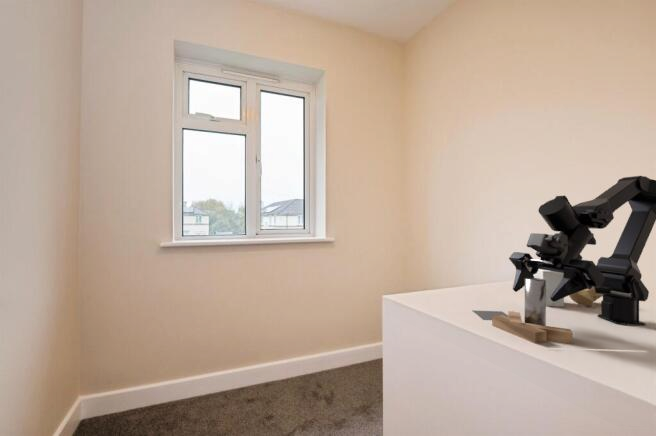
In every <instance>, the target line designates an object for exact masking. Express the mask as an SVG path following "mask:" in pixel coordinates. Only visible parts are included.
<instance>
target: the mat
mask: <svg viewBox="0 0 656 436" xmlns="http://www.w3.org/2000/svg"><path fill="white" fill-rule="evenodd" d="M471 312H473V313H475V314H476V315H477V316H478V317H479V318H481V320H484V321H492V316H499V315H503V316H506V317H508V314H507V313H505V312H503V311H501V310H500V311H499V310H498V311H496V310H493V311H492V310H473V309H472V311H471Z"/></svg>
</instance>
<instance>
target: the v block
mask: <svg viewBox="0 0 656 436" xmlns="http://www.w3.org/2000/svg"><path fill="white" fill-rule="evenodd" d="M507 312H508V314H507V315H508V317H506V316H503V315H499V316H492V320H491V322H492V323H491V326H493V327H494V328H497V329H500V331H501V330H502V331H504V332H507V333H508V334H511V335H514V336H517V337H518V338H520V339H523V340H524V341H525V340H526V341H528V342H530V343H533V344H541V343H547V341H552V342H558V343H565V344H571V345H573V341H574V339H573V337H574V336H573V335H574V334H573V331H572V330H571V329H570V328H563V327H557V326H556V327H555V326H548V325H546V326H543V325H536V324H529V323H525V322H523V320H522V316H521V313H520V312H517V311H509V310H508V311H507Z"/></svg>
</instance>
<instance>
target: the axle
mask: <svg viewBox="0 0 656 436" xmlns="http://www.w3.org/2000/svg"><path fill="white" fill-rule="evenodd" d="M524 323H529V324H536V325H543V326H547V325H546V324H547V306H546V280H544V279H539V278H525V286H524Z"/></svg>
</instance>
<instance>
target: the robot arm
mask: <svg viewBox="0 0 656 436" xmlns="http://www.w3.org/2000/svg"><path fill="white" fill-rule="evenodd" d="M627 202H628V204H629V205H630V208H631V212H630V214H629V217H628V219H627V221H626V223H625V226H624V228H623V230H622V232H621V235H620V236H619V239H618V241H617V243H616V246H615V248H614V250H613V253H612V254H611V255H610V256H609V257H605V256H600V258H598V260H597V264H596V263H595V262H594V260H587V259H583V256H582V255H581V253H582V252H583V250H584V249H585V247H586V246H587V245H591V246H595V245H597V240H596V238H595V236H594V233H593V232H592V231H591V230H592V229H597V230H599V229H600V230H602V229H605V228H607V227H608V226H609V224H611V222H612V221H613V220H614V218H615V217H614V212H615V211H617V210H618V209H620V208H621V207H622V206H623V205H625V204H626V203H627ZM537 211H538V213H539V214H540V216H541V217H542V219H543V220H544V222H546V224H547V225H548V227H549V228H550V229H551V230H552V231H554V232H557V233H554V234H547V233H535V232H531V233H530V234H529V237H528V240H527V243H526V247H527V248H530V249H532V250H534V251H536V252H535V255H536V256H537V257H538V258H540V259H535V258H533V257H532V255H531V254H530V253H527V252H519V251H515V252H512V254H511V255H510V256H509V258H508V259H509V261H510V262H511V264H513V266H514V267H515V276H514V281H513V284H512V285H513V286H512V290H513V292H515V293H517V292H519V291H520V290H521V289H523V288H525V278H534V276H533V275H534V274H536V273H537V272H538V269H542V270H548V271H551V272H556V273H562V274H563V278H562V280H561V281H560V283H559V284H558V286H557V287H556V289H555V290H554V292H553V293H552V295H551V297H550V299H551V300H552V301H553V302H555V301H557V300H560V299H562V298H564V299H565V298H567V297H570V296H569V295H571V294H574V293H576V292H579V291H582V290H585V289H591V288H592V287H594V288H595V291H596V293H598V294H604V295H603V297H602V300H601V301H600V306H601V307H600V311H601V312H600V313H599V314H597V317H599V318H602V319H604V320H606V321H610V322H612V323H614V324H617V325H633V326H634V325H636V326H640V325H641V326H646V322H644V321H641V320H640V302H646V301H647V300H648V298H649V293H650V292H649V289H648V288H647V287H646V285H645V284H644V283H643V281H642V273H641V270H640V268H639V265H638V263H639V261H640V258H641V255H642V253H643V251H644V248H645V247H646V245H647V242H648V240H649V236H650V234H651V233H652V230H653V228H654V226H655V224H656V179H653V178H652V179H651V178H649V177H647V176H643V175H636V176H625V177H622V178H619V179H618V180H617V183H615V184H614V185H612V186H611V187H609V188H608V189H606V190H605V191H603V192H602V193H601V194H599V195H598V196H597V197H595V198H593V199H592V200H586V201H583V202H579V203H577V204H575V205H572V204H571V203H570V200H569V199H568V197H567V196H566V195H556V196H555V198H553V199H550V200H548V201H546V202H545V203H543V204H541V205H540V206H539V207H538V210H537Z"/></svg>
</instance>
